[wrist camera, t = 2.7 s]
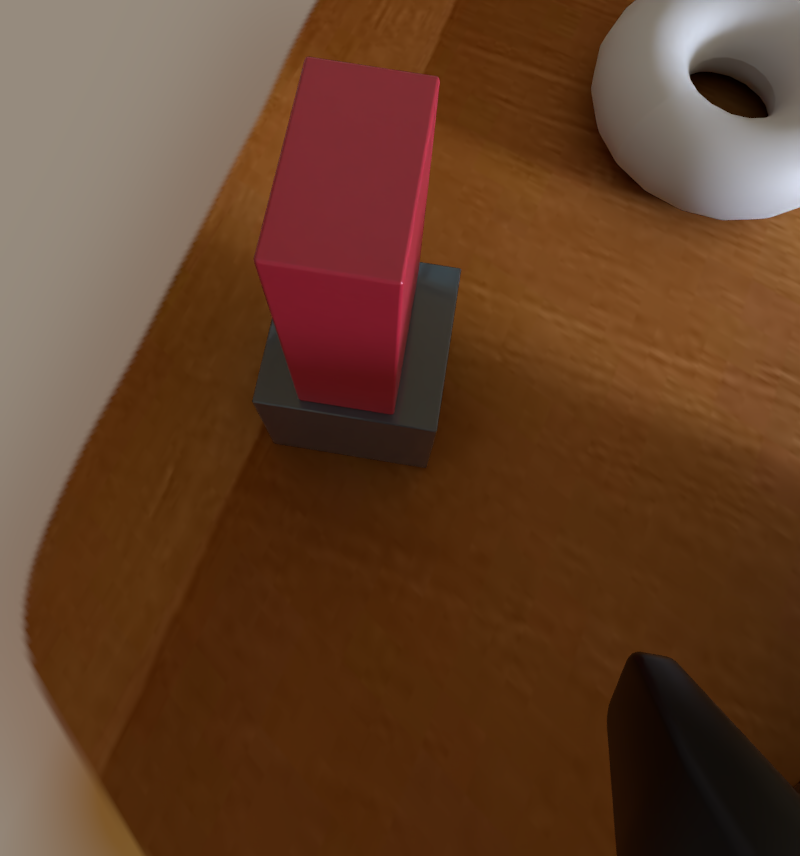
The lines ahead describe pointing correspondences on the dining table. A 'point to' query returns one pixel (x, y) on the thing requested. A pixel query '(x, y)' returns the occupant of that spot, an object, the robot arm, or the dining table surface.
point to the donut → (704, 104)
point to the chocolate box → (348, 229)
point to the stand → (365, 430)
